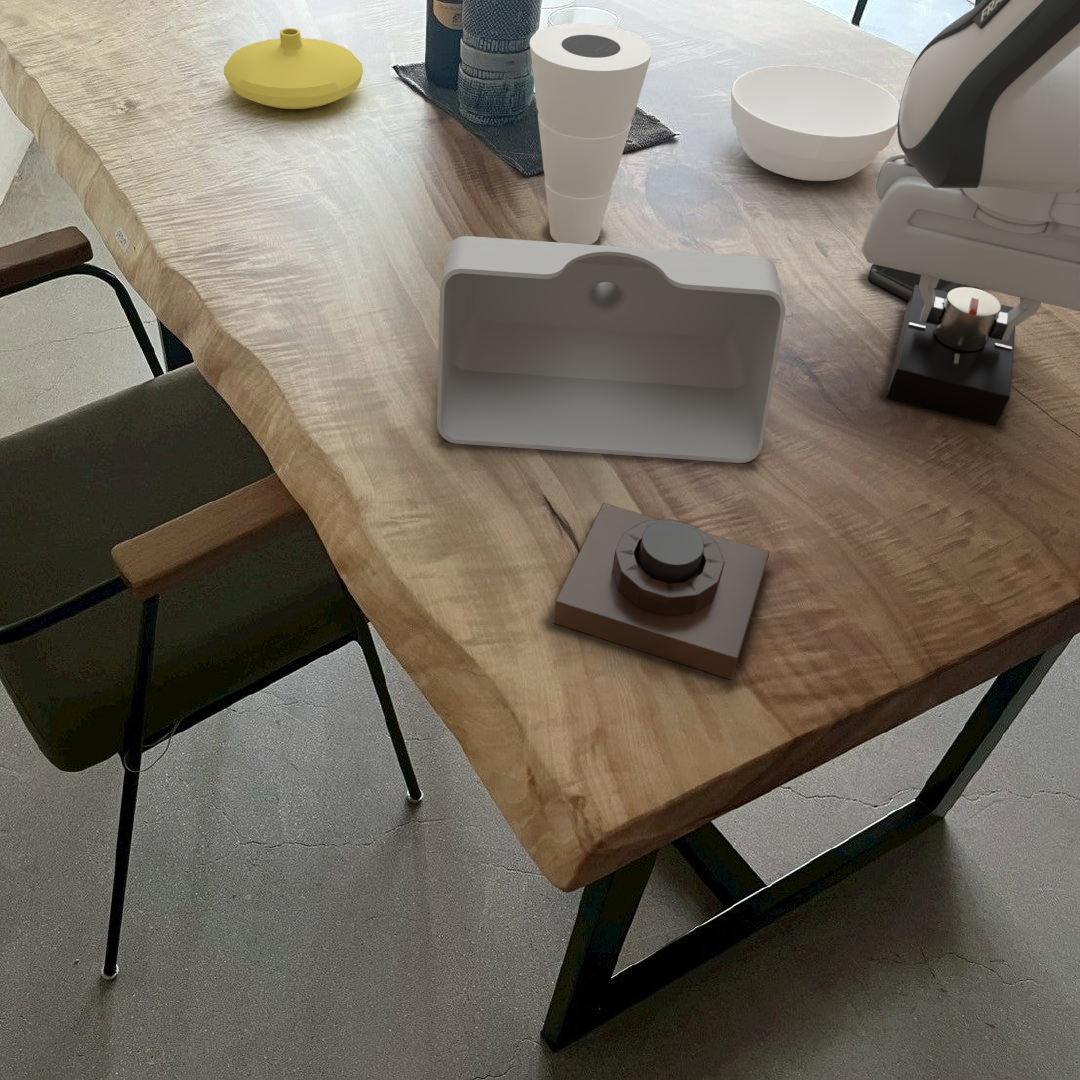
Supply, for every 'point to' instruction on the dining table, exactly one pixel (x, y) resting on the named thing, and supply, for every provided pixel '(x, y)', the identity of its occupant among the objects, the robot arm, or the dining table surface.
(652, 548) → the button
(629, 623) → the button block
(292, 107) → the vase
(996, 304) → the knob
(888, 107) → the bowl
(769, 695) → the dining table surface
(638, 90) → the white tapered cylinder
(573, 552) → the dining table surface
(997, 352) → the panel
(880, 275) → the phone
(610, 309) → the grey storage bin
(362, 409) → the dining table surface
